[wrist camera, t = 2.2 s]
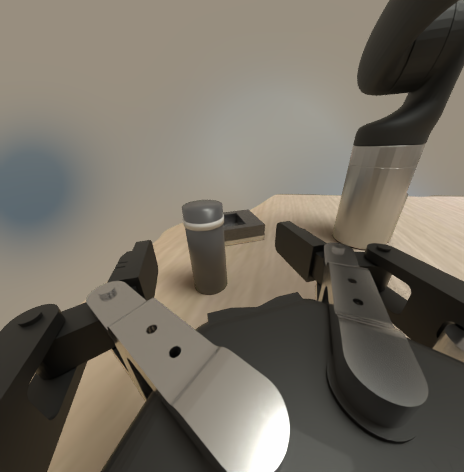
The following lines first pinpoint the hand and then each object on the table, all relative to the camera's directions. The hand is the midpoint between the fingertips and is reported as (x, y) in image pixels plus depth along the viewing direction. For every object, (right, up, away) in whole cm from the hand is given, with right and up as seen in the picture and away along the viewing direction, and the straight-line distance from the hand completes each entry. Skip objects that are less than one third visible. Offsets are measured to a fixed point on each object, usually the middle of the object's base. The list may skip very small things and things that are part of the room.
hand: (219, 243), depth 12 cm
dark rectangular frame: (0, +1, +30) cm, 30 cm away
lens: (-2, -6, +16) cm, 17 cm away
